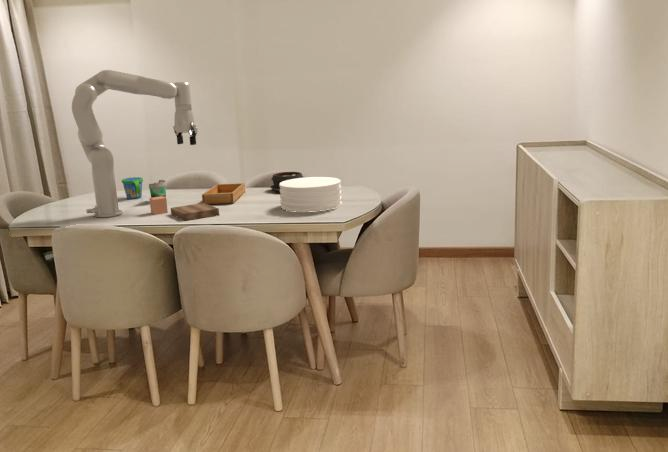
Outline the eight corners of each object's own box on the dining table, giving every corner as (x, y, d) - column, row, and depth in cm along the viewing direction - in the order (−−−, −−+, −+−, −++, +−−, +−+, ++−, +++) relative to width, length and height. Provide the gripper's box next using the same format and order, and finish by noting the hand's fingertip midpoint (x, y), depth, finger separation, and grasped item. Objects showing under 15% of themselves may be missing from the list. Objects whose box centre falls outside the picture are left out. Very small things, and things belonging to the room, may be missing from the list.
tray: (216, 194, 364) (216, 183, 363) (245, 193, 363) (244, 182, 362) (202, 206, 334) (201, 194, 333) (233, 204, 333) (232, 193, 332)
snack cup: (148, 198, 358) (145, 179, 356) (127, 201, 354) (125, 181, 351) (141, 194, 372) (138, 175, 369) (121, 197, 367) (118, 178, 365)
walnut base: (184, 220, 302) (184, 214, 301) (171, 214, 317) (170, 207, 316) (219, 215, 310) (218, 208, 309) (204, 209, 325) (203, 202, 324)
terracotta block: (155, 214, 318) (153, 199, 316) (151, 212, 323) (149, 198, 321) (167, 212, 321) (166, 198, 319) (163, 210, 326) (162, 196, 324)
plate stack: (269, 211, 313) (267, 186, 310) (299, 199, 337) (297, 176, 334) (325, 214, 301) (323, 188, 298) (351, 201, 325) (350, 177, 322)
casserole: (302, 193, 352) (301, 177, 350) (266, 194, 353) (265, 178, 351) (308, 184, 376) (307, 169, 374) (274, 186, 378) (273, 170, 376)
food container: (162, 203, 343) (159, 183, 340) (150, 204, 344) (148, 184, 342) (172, 198, 354) (170, 179, 352) (161, 199, 356) (159, 179, 353)
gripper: (165, 108, 333) (169, 144, 337) (188, 109, 322) (192, 146, 326) (178, 107, 338) (181, 142, 342) (201, 107, 327) (204, 144, 331)
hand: (186, 144), depth 334 cm, fingers open, 9 cm apart
